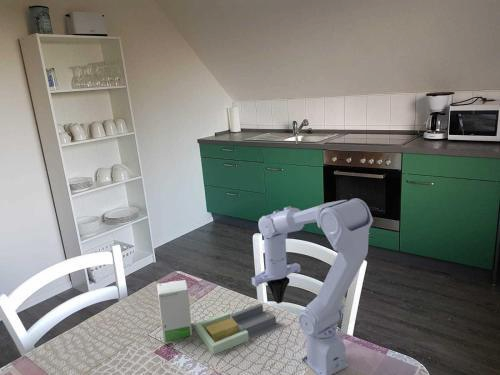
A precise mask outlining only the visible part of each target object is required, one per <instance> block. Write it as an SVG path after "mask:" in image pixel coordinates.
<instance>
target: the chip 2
mask: <svg viewBox="0 0 500 375" xmlns="http://www.w3.org/2000/svg"><path fill="white" fill-rule="evenodd" d="M219 323H220V324H221V325H222V327H223V328H224V329H225V335H226V338H227V337H230V336H232V335H235V334H237V333H240V330H239V327H238V324H237V323H236V322H235V321H234V320H233V319H232V318H230V319H227V320H225V321H222V322H219Z"/></svg>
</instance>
